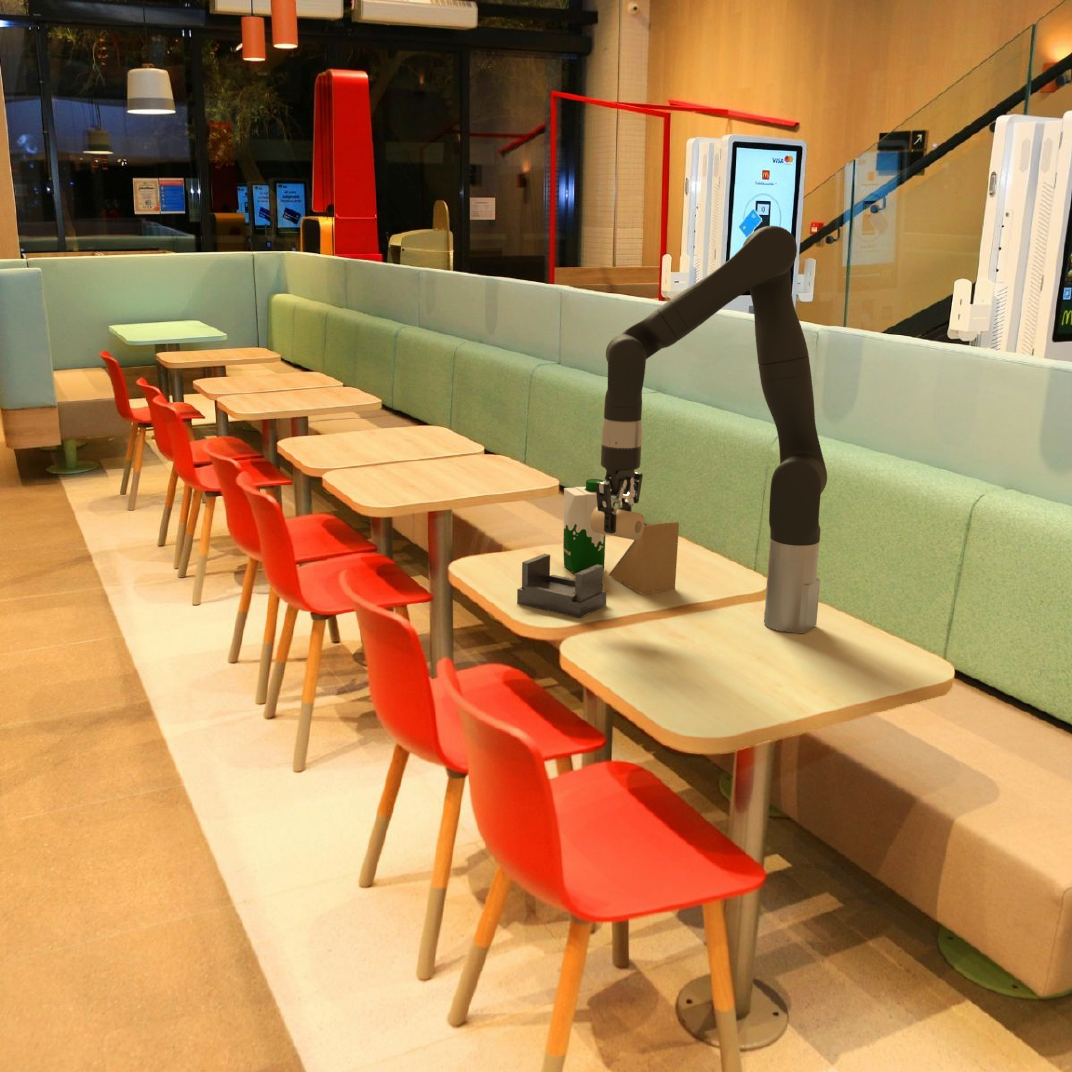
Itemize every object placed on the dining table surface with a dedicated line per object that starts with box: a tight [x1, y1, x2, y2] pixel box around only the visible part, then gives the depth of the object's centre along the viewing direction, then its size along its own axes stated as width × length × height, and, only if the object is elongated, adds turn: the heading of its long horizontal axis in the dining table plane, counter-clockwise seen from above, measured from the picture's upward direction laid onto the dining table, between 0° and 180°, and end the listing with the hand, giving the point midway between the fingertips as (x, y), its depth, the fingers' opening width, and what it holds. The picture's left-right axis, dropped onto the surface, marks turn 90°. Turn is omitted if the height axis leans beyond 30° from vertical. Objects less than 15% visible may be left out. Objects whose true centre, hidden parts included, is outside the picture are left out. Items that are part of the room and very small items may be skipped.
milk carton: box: [562, 478, 607, 575], centre depth 254 cm, size 9×9×20 cm
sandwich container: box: [608, 521, 680, 594], centre depth 246 cm, size 9×15×15 cm, turn 24°
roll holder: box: [516, 553, 608, 619], centre depth 231 cm, size 15×10×8 cm, turn 55°
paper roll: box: [590, 507, 646, 541], centre depth 220 cm, size 9×5×5 cm, turn 55°
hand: (617, 529), depth 220 cm, fingers closed on paper roll, 5 cm apart
